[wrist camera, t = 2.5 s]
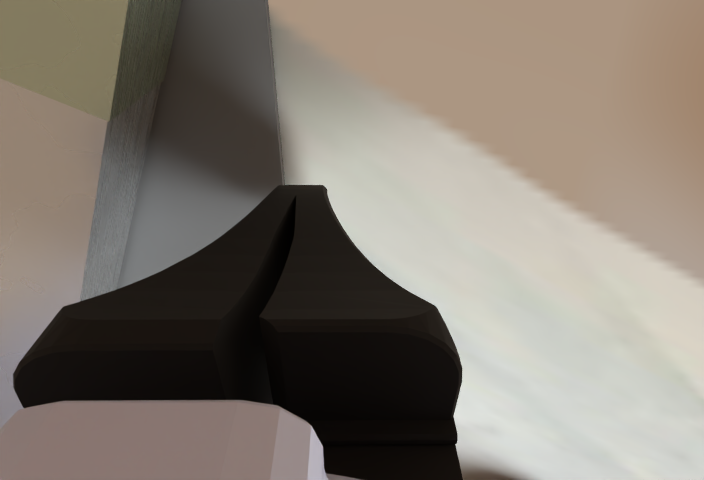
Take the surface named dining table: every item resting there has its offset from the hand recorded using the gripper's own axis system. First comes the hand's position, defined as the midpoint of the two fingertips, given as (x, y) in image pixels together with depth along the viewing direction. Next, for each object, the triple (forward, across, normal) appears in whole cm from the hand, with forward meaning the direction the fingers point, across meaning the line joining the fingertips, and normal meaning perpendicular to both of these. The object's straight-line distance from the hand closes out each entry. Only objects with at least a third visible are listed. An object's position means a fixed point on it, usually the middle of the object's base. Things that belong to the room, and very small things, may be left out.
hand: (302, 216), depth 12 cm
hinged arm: (+1, +8, +2) cm, 8 cm away
